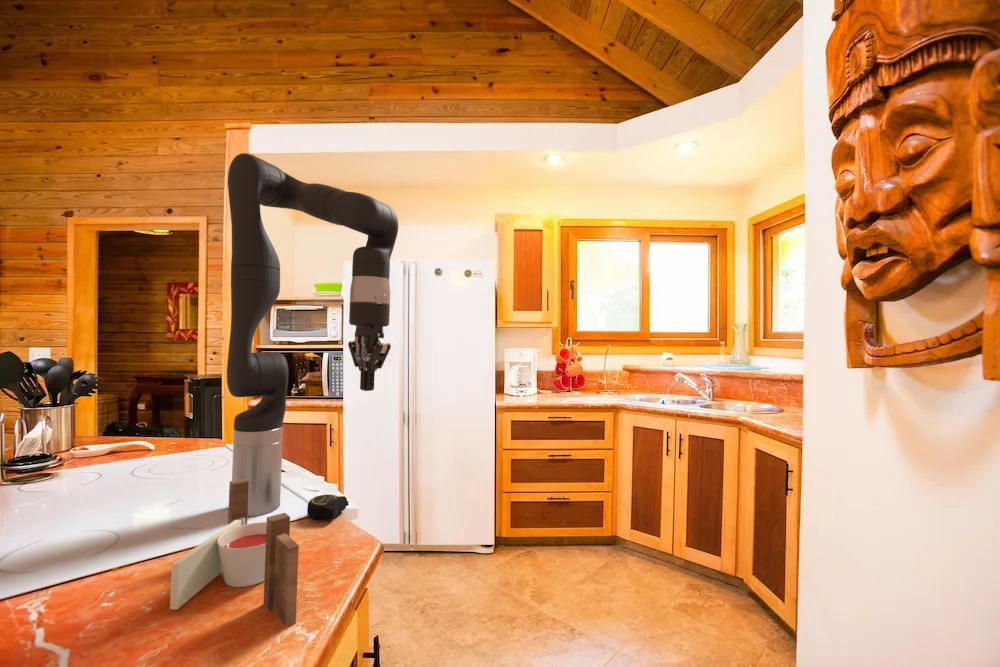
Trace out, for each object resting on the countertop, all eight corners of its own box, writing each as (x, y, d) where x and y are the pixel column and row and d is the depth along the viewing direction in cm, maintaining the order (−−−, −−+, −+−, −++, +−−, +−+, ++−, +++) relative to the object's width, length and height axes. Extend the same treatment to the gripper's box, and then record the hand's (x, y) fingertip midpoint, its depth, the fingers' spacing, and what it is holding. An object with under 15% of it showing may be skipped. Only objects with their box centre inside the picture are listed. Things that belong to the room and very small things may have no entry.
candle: (206, 596, 61) (207, 551, 61) (226, 564, 70) (228, 524, 70) (276, 588, 64) (278, 544, 64) (287, 557, 72) (289, 519, 72)
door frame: (226, 551, 73) (229, 481, 74) (242, 547, 75) (245, 478, 75) (281, 629, 55) (284, 534, 55) (300, 620, 56) (303, 528, 57)
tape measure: (331, 526, 85) (332, 507, 85) (299, 522, 86) (300, 504, 86) (348, 512, 92) (349, 494, 92) (318, 509, 93) (319, 492, 93)
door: (230, 552, 73) (231, 516, 73) (245, 553, 73) (246, 516, 73) (158, 610, 57) (160, 563, 57) (178, 610, 57) (180, 564, 57)
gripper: (336, 301, 86) (333, 388, 86) (369, 298, 77) (365, 395, 77) (370, 304, 91) (368, 386, 91) (405, 301, 82) (402, 392, 82)
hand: (367, 390), depth 84 cm, fingers closed
